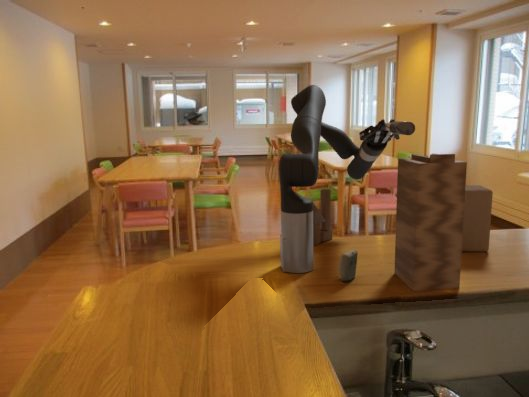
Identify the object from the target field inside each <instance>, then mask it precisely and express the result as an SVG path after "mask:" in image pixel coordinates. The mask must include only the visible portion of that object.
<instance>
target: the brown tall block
mask: <svg viewBox="0 0 529 397" xmlns="http://www.w3.org/2000/svg"><path fill="white" fill-rule="evenodd" d="M467 166H468V162H467V161H463V160H458V159H456V153H439V154H438V153H431V154H429V156H428V155H421V154H415V153H414V154H413V153H412V154H411V156H410V157H407V158H406V157H405V158H404V157H402V158H401V157H400V158H398V159H397V175H396V176H397V178H396V180H397V181H396V182H397V184H396V185H397V186H396V209H395V211H396V212H395V213H396V216H395V239H394V240H395V241H394V242H395V243H394V244H395V247H394V274H395V276H396V277H398V278H399V279H400V280H401V281H402V282H403V283H404V284H405V285H406V286H407V287H409V289H410V290H411V291H412V292H421V291H438V290H439V291H440V290H441V291H442V290H455V289H456V290H459V289H460V288H461V287H460V285H461V283H460V282H461V266H462V237H463V220H464V203H465V186H467V185H466V184H467V183H466V182H467Z"/></svg>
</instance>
